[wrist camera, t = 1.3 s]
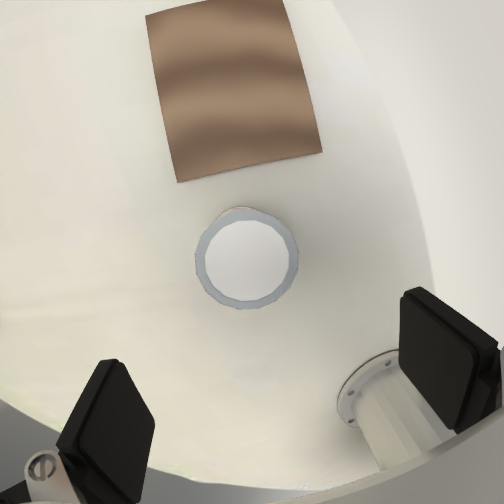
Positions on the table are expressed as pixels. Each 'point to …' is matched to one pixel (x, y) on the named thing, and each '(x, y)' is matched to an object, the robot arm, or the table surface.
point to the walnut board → (230, 86)
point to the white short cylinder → (246, 258)
